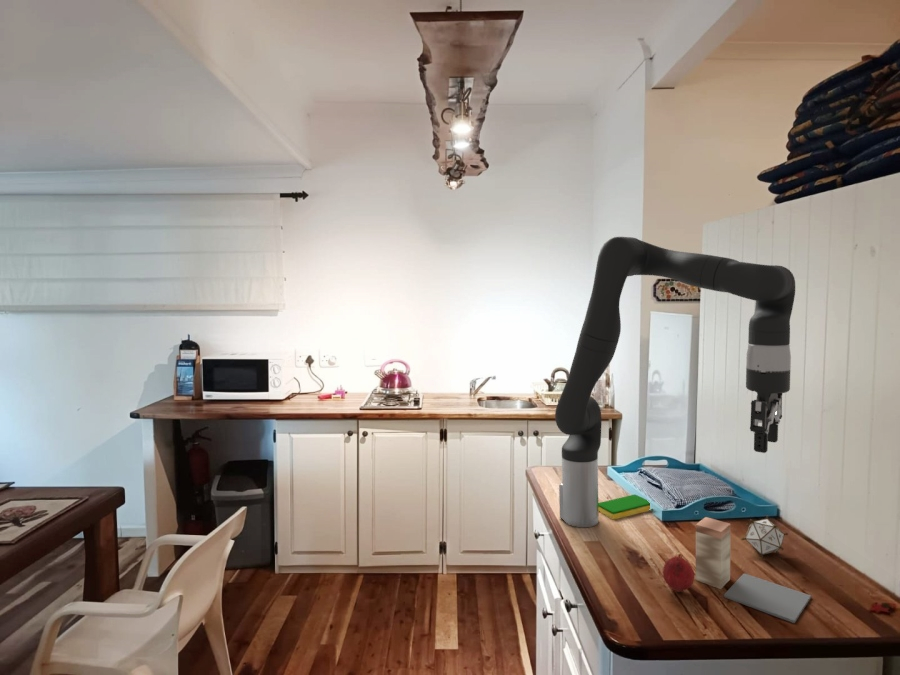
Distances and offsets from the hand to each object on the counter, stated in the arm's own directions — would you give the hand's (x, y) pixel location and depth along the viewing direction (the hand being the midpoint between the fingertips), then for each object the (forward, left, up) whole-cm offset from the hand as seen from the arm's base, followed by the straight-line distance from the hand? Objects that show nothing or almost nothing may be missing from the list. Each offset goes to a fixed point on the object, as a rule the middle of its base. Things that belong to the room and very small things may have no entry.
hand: (766, 446), depth 107 cm
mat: (+2, -6, -29) cm, 29 cm away
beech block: (-8, -6, -29) cm, 30 cm away
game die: (-4, +13, -29) cm, 32 cm away
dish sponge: (-39, +14, -29) cm, 51 cm away
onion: (-11, -15, -29) cm, 34 cm away
